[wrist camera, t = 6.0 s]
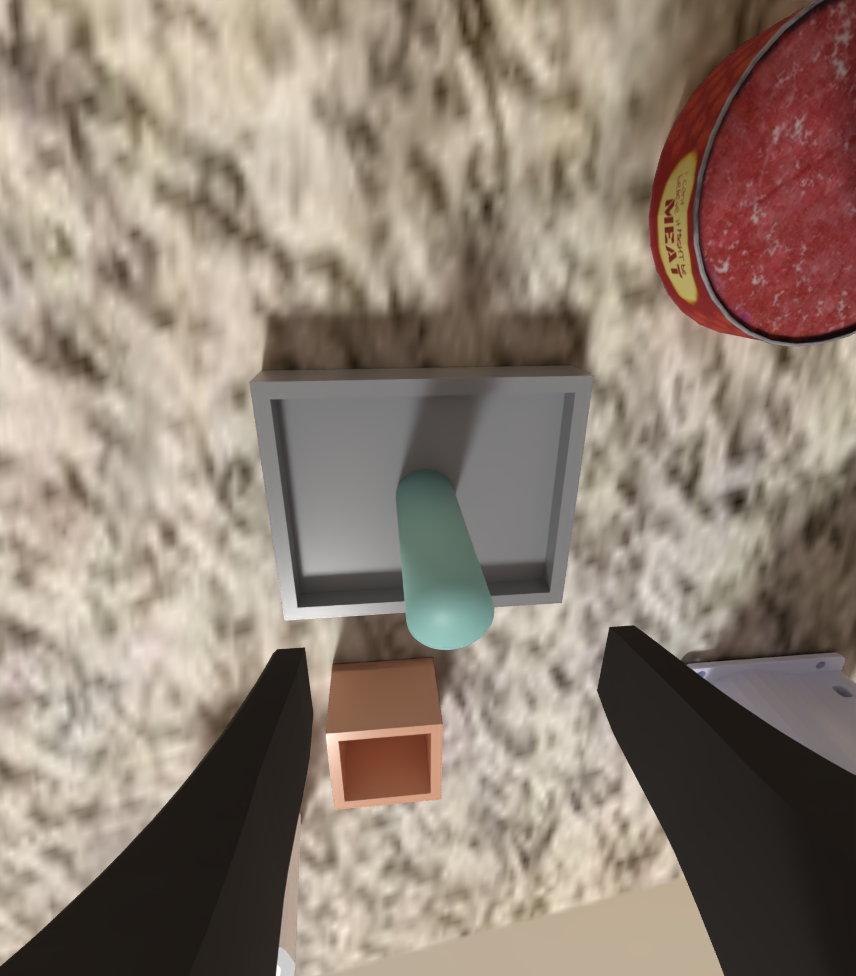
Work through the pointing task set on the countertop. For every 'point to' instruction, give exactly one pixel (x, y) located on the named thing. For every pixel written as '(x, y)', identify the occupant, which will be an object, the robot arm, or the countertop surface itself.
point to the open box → (384, 733)
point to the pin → (439, 565)
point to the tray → (411, 447)
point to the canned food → (766, 186)
